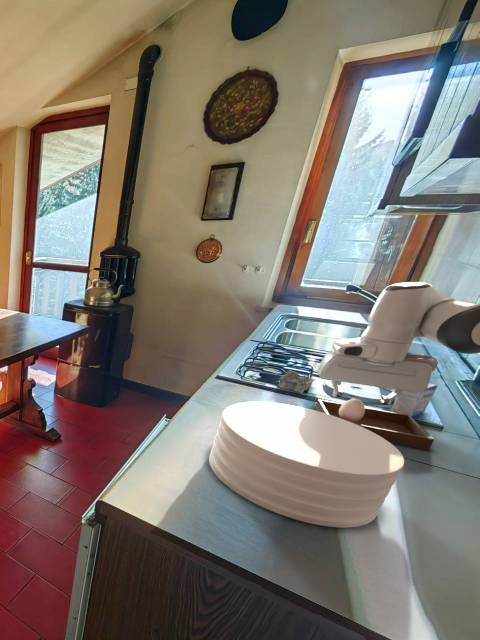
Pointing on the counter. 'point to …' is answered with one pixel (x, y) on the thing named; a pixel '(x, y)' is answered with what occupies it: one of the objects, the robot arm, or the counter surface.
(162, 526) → the counter surface
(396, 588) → the counter surface
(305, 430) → the plate stack
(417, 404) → the medicine box
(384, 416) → the tray
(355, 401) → the egg
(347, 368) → the robot arm
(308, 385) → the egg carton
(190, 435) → the counter surface
